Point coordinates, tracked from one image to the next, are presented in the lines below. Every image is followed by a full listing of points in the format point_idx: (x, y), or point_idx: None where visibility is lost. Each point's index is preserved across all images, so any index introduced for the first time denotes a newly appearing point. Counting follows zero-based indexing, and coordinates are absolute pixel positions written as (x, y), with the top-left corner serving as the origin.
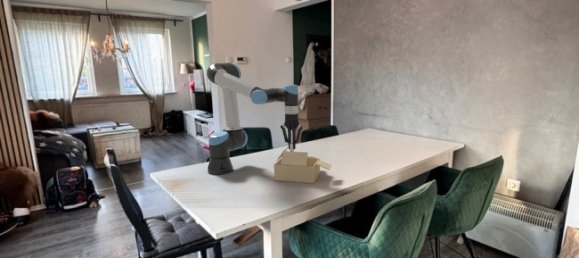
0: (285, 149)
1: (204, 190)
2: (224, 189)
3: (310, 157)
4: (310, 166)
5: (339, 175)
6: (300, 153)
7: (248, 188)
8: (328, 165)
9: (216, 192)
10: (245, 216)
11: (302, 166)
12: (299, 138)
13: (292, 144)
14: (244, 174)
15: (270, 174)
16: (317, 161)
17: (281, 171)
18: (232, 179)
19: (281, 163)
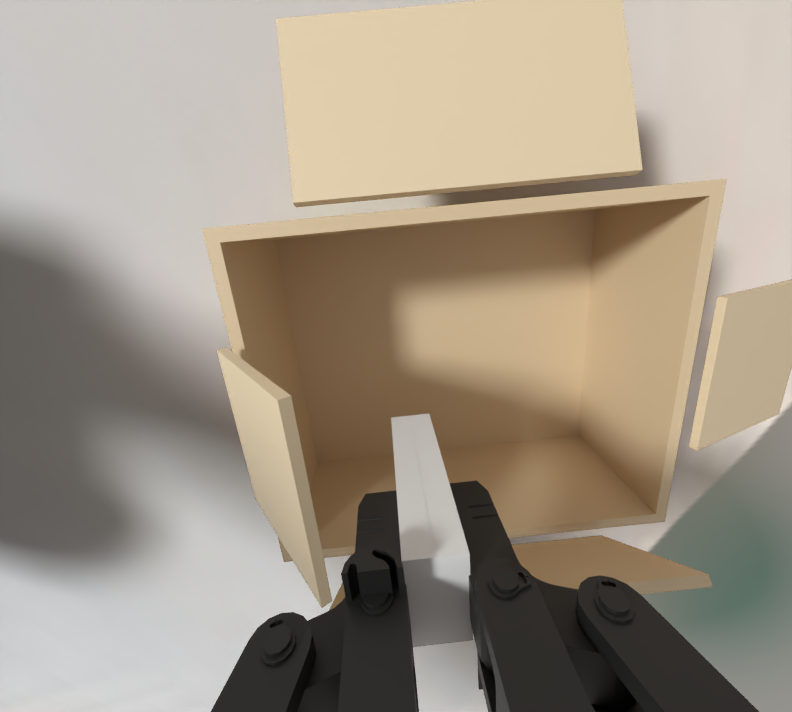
0: (313, 531)
1: (45, 683)
2: (127, 647)
3: (581, 141)
4: (543, 213)
5: (767, 194)
6: None
7: (236, 602)
8: (787, 332)
9: (122, 681)
10: None
11: (560, 526)
12: (743, 698)
13: (468, 631)
14: (24, 424)
15: (211, 359)
16: (695, 330)
17: None
18: (35, 529)
19: None
